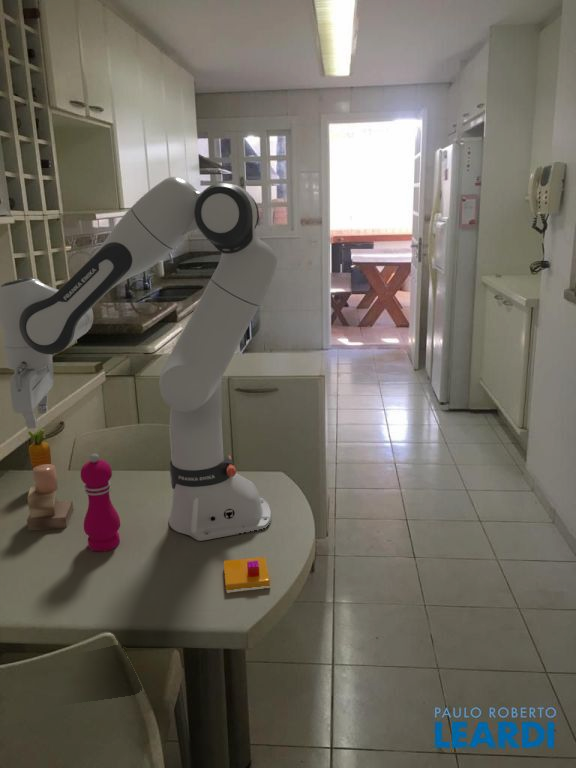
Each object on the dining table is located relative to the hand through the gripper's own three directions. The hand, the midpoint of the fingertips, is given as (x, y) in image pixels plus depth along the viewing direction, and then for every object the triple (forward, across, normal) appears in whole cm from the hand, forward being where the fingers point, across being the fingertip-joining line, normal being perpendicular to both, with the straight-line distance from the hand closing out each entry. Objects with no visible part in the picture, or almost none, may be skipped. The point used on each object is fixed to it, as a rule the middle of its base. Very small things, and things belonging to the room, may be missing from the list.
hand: (38, 419), depth 134 cm
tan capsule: (+16, -1, 0) cm, 16 cm away
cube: (+21, -1, +1) cm, 21 cm away
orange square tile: (+24, -30, -41) cm, 57 cm away
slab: (+24, -1, 0) cm, 24 cm away
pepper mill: (+24, -13, -13) cm, 30 cm away
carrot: (+24, +18, +6) cm, 30 cm away
